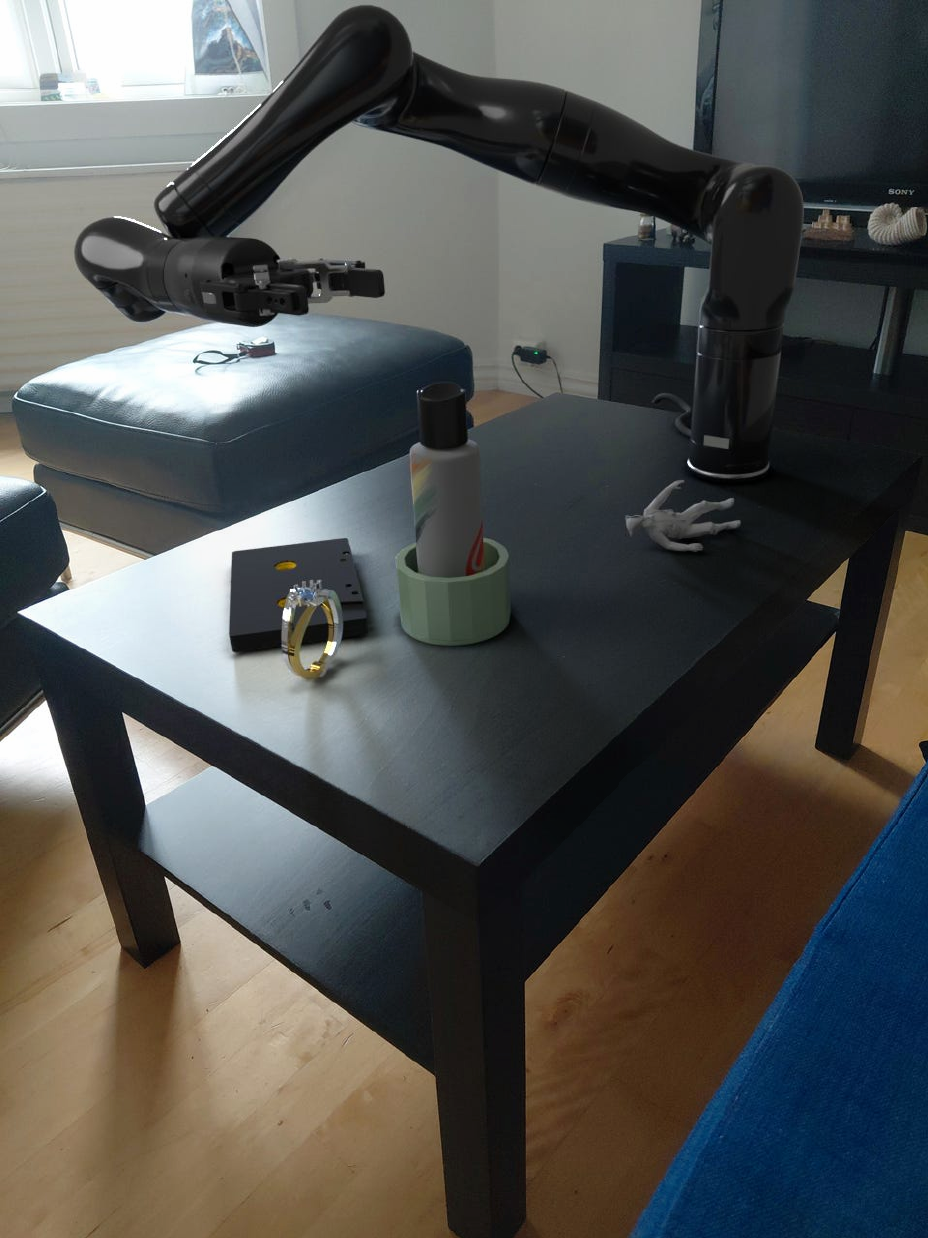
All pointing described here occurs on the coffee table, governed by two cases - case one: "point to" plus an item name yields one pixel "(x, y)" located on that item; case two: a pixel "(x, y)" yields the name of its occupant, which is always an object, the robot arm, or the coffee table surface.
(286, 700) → the coffee table surface
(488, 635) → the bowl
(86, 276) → the robot arm
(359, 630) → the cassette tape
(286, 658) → the ring
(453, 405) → the lotion bottle
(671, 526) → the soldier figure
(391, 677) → the coffee table surface
